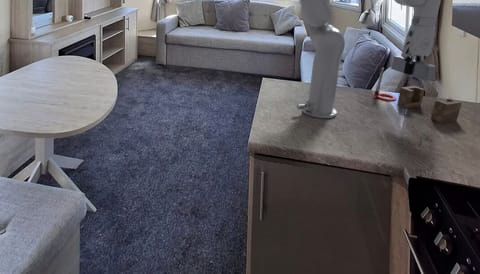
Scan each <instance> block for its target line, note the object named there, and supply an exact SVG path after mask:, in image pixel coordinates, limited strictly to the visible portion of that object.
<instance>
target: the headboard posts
mask: <svg viewBox="0 0 480 274" xmlns="http://www.w3.org/2000/svg"><path fill="white" fill-rule="evenodd" d="M425 90H426V89H424V88H422V87H419V86H417V85H410V86H402V87H400V91H399V94H398V98H397V99H398V100H397V106H399V107H401V108H404V109H406V110H407V109H413V108H414V107H415V108H420V107H421V106H422V101H423V98H424V94H425ZM462 104H463V102H461V101H459V100H456V99H453V98H451V97H450V98H446V101H443V100H440V99H436V100H435V101H434V106H433V109H432V113H431V117H430V120H432V121H434V122H437V123H439V124H448V123H454V122H457V121H458V116H459V115H460V110H461V106H462Z"/></svg>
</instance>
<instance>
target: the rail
mask: <svg viewBox="0 0 480 274" xmlns="http://www.w3.org/2000/svg"><path fill="white" fill-rule="evenodd" d="M405 64H406V62H405V59H404V58H403V57H402V56H401V55H394V56H393V58H392V64H391V68H390V69H391V70H394V71H396V72H400V73H402V74H405V73H404V68H405ZM413 64H414V65H413V70H412V74H411V75H410V76H411V77H415V78H418V79H420V80H424V81H433V80H434V76H435V72H436V70H437V69H436V67H437V66H436V65H433V64H430V63H427V62H424V61H423V62H420V61H417V60H415V59H414V61H413Z"/></svg>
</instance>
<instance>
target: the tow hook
mask: <svg viewBox="0 0 480 274" xmlns="http://www.w3.org/2000/svg"><path fill="white" fill-rule="evenodd" d="M384 70H385V68H384V67H382V68H381V70H380V73H379V76H378V81H377V84H376V87H375V91H374V94H373V99H379V100H382V101H385V102H395V101H397V97H396V96H395V95H393V94H390V93H387V92H380V89H381V83H382V79H383V75H384ZM387 97H388V98H387Z"/></svg>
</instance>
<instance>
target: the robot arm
mask: <svg viewBox="0 0 480 274" xmlns="http://www.w3.org/2000/svg"><path fill="white" fill-rule="evenodd" d="M393 1H394V2H395V3H396V4H398V5H400V6H405V7H410V8H414V11H413V15H412V19H411V24H410V25H409V28H408V31H407V33H406V35H405V40H404V44H403V47H402V52H401V54H400V56H402V57H403V58H404V59H405V62H406V64H405V68H404V73H403V74H406V75H409V76H411V74H412V70H413V65H414V64H413V61H414V60H417V61H420V62H424V61H425V59H426V58H427V57H429V56H430V55H431V54H432V53H433V48H434V42H435V37H436V26H435V25H436V22H437V17H438V14H439V10H440V6H441V1H442V0H393ZM299 3H300V16H301V19H302V22H303V24H304V27H305V30H306V32H307V34H308V36H309V39H310V41H311V43H312V45H313V46H314V47H315V53H314V57H313V62H312V67H311V68H312V69H311V78H310V84H309V85H310V87H309V92H308V93H309V94H308V99H306V100H305V102H304V103H300V104H297V105H296V109H297V110H302V112H303V113H304V114H305V115H307V116H309V117H313V118H316V119H331V118H334V117H337V110H336V109H335V108H334V105H335V100H336V99H335V98H336V92H337V87H338V86H337V85H338V80H339V79H338V78H339V73H340V67H341V66H340V65H341V61H342V59H343V54H344V51H345V46H346V45H345V43H346V42H345V37H344V34H343V33H342V32H341V31H340V30H339V29H337V28H336V27H335V26H334V23H333V22H332V15H333V14H332V13H333V12H332V6H331V4H330V2H329V1H328V0H299Z"/></svg>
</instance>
